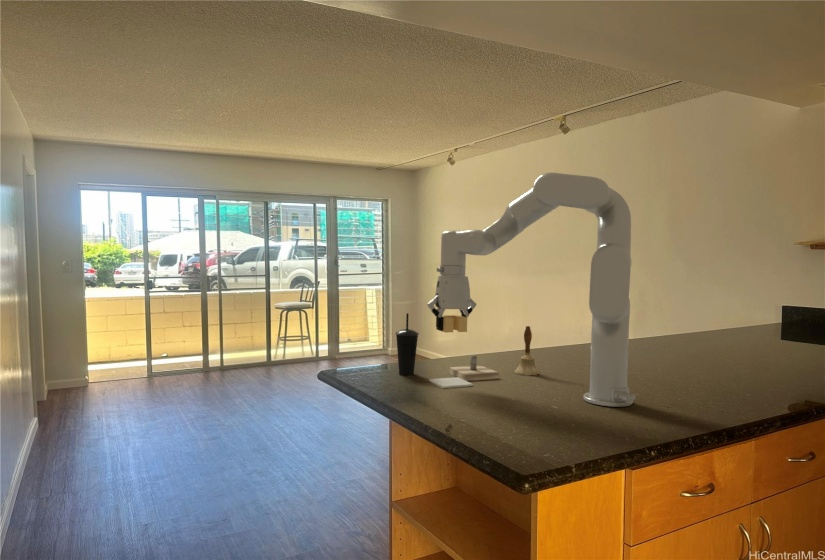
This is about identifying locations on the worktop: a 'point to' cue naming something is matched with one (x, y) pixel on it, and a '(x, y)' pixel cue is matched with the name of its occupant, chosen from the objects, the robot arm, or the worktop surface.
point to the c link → (454, 323)
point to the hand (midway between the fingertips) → (451, 329)
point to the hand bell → (527, 357)
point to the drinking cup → (406, 349)
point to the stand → (473, 371)
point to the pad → (450, 382)
